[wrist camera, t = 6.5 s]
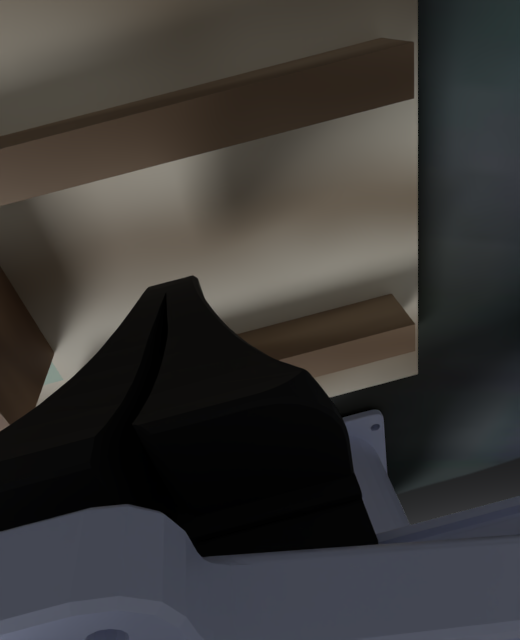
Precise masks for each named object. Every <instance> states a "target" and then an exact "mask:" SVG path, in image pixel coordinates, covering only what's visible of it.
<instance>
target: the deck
mask: <svg viewBox="0 0 520 640" xmlns="http://www.w3.org/2000/svg"><path fill="white" fill-rule="evenodd" d="M0 267H1V268H2V270H3V271H4V273H5V275H6V276H7V278H8V279H9V281H10V283H11V284H12V286H13V287H14V289H15V291H16V292H17V294H18V295H19V297H20V299H21V300H22V302H23V303H24V305H25V307H26V308H27V310H28V311H29V313H30V315H31V316H32V318H33V319H34V321H35V323H36V324H37V326H38V327H39V329H40V331H41V332H42V334H43V335H44V337H45V339H46V340H47V342H48V343H49V345H50V346H51V348H52V350H53V351H54V353H55V354H54V357H53V359H52V362H51V365H50V368H49V371H48V374H47V376H46V379H45V382H44V385H43V388H42V391H41V393H40V396H39V399H38V402H37V405H36V406H38V405H39V404H40V403H42V402H43V401H44V400H45V399H47V398H48V397H49V396H50V395H52V394H53V393H54V392H55V391H56V390H58V389H59V388H60V387H61V386H62V385H64V384H65V383H66V382H67V381H69V380H70V379H71V378H72V377H73V376H74V375H75V374H76V373H77V372H78V371H79V370H80V369H81V368H82V367H83V366H85V365H86V364H87V363H88V362H89V361H90V359H91V358H92V357H93V356H94V355H95V354H96V353H97V352H98V351H99V350H100V349H101V347H102V346H103V345H104V344H105V343H106V341H107V340H108V339H109V338H110V337H111V335H112V334H113V333H114V332H115V331H116V329H117V328H118V327H119V326H120V324H121V323H122V322H123V320H124V319H125V318H126V316H127V315H128V314H129V312H130V311H131V309H132V308H133V307H134V305H135V304H136V302H137V301H138V300H139V298H140V297H141V295H142V294H143V293H144V291H145V290H146V289H147V288H148V287H150V286H154V285H157V284H161V283H165V282H169V281H173V280H177V279H180V278H184V277H188V276H192V275H193V276H195V277H197V278H198V280H199V283H200V286H201V289H202V292H203V295H204V298H205V299H206V301H207V302H208V304H209V305H210V306H211V308H212V309H213V310H214V312H215V313H216V314H217V315H218V316H219V317H220V319H221V320H222V321H223V322H224V323H225V324H226V325H227V326H228V327H229V328H230V329H231V330H232V331H234V332H235V333H236V334H237V335H238V336H239V337H241V338H242V339H243V340H245V341H246V342H247V343H249V344H250V345H252V346H253V347H255V348H257V349H258V350H260V351H262V352H263V353H265V354H267V355H268V356H270V357H272V358H274V359H276V360H279V361H282V362H285V363H288V364H291V365H294V366H297V367H300V368H303V369H305V370H307V371H308V372H309V373H310V374H311V375H312V376H313V378H314V379H315V380H316V381H317V382H318V383H319V385H320V386H321V387H322V388H323V390H324V391H325V392H326V394H327V395H328V396H329V398H330V397H334V396H337V395H341V394H345V393H349V392H352V391H356V390H360V389H364V388H368V387H371V386H375V385H379V384H383V383H386V382H390V381H394V380H398V379H402V378H405V377H409V376H413V375H417V374H418V0H0Z"/></svg>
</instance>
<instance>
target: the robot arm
mask: <svg viewBox="0 0 520 640" xmlns="http://www.w3.org/2000/svg"><path fill="white" fill-rule="evenodd" d="M0 640H520V496H517V497H513V498H509V499H506V500H502V501H498V502H494V503H491V504H487V505H483V506H479V507H476V508H472V509H468V510H464V511H461V512H457V513H453V514H449V515H445V516H442V517H438V518H434V519H430V520H427V521H423V522H420V523H416V524H412V525H410V523H409V521H408V519H407V517H406V514H405V513H404V510H403V508H402V506H401V503H400V501H399V499H398V497H397V495H396V493H395V490H394V488H393V486H392V484H391V482H390V479H389V477H388V475H387V461H386V446H385V431H384V418H383V415H382V413H381V412H380V411H379V410H376V409H374V410H369V411H365V412H361V413H358V414H354V415H350V416H346V417H343V418H342V417H341V415H340V413H339V412H338V410H337V408H336V407H335V405H334V403H333V402H332V401H331V399H330V398H329V396H328V395H327V394H326V392H325V391H324V390H323V388H322V387H321V386H320V385H319V383H318V382H317V381H316V380H315V379H314V378H313V376H312V375H311V374H310V373H309V372H308V371H307V370H305V369H303V368H300V367H297V366H294V365H291V364H288V363H285V362H282V361H279V360H276V359H274V358H272V357H270V356H268V355H267V354H265V353H263V352H262V351H260V350H258V349H257V348H255V347H253V346H252V345H250V344H249V343H247V342H246V341H245V340H243V339H242V338H241V337H239V336H238V335H237V334H236V333H235V332H234V331H232V330H231V329H230V328H229V327H228V326H227V325H226V324H225V323H224V322H223V321H222V320H221V319H220V317H219V316H218V315H217V314H216V313H215V312H214V310H213V309H212V308H211V306H210V305H209V304H208V302H207V301H206V299H205V298H204V295H203V292H202V289H201V286H200V283H199V280H198V278H197V277H195V276H193V275H192V276H188V277H184V278H180V279H177V280H173V281H169V282H165V283H161V284H157V285H154V286H150V287H148V288H147V289H146V290H145V291H144V293H143V294H142V295H141V297H140V298H139V300H138V301H137V302H136V304H135V305H134V307H133V308H132V309H131V311H130V312H129V314H128V315H127V316H126V318H125V319H124V320H123V322H122V323H121V324H120V326H119V327H118V328H117V329H116V331H115V332H114V333H113V334H112V335H111V337H110V338H109V339H108V340H107V341H106V343H105V344H104V345H103V346H102V347H101V349H100V350H99V351H98V352H97V353H96V354H95V355H94V356H93V357H92V358H91V359H90V361H89V362H88V363H87V364H86V365H85V366H83V367H82V368H81V369H80V370H79V371H78V372H77V373H76V374H75V375H74V376H73V377H72V378H71V379H70V380H69V381H67V382H66V383H65V384H64V385H62V386H61V387H60V388H59V389H58V390H56V391H55V392H54V393H53V394H52V395H50V396H49V397H48V398H47V399H45V400H44V401H43V402H42V403H40V404H39V405H38V406H36V407H35V408H34V409H32V410H31V411H29V412H28V413H27V414H25V415H24V416H23V417H21V418H20V419H18V420H17V421H15V422H14V423H12V424H11V425H9V426H8V427H6V428H5V429H3V430H2V431H0Z"/></svg>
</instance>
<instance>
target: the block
mask: <svg viewBox="0 0 520 640" xmlns="http://www.w3.org/2000/svg"><path fill="white" fill-rule="evenodd" d="M54 354H55V353H54V351H53V350H52V348H51V346H50V345H49V343H48V342H47V340H46V339H45V337H44V335H43V334H42V332H41V331H40V329H39V327H38V326H37V324H36V323H35V321H34V319H33V318H32V316H31V315H30V313H29V311H28V310H27V308H26V307H25V305H24V303H23V302H22V300H21V299H20V297H19V295H18V294H17V292H16V291H15V289H14V287H13V286H12V284H11V283H10V281H9V279H8V278H7V276H6V275H5V273H4V271H3V270H2V268H1V267H0V431H2V430H3V429H5V428H6V427H8V426H9V425H11V424H12V423H14V422H15V421H17V420H18V419H20V418H21V417H23V416H24V415H25V414H27V413H28V412H29V411H31V410H32V409H34V408H35V407H36V405H37V402H38V399H39V396H40V393H41V391H42V388H43V385H44V382H45V379H46V376H47V374H48V371H49V368H50V365H51V362H52V359H53V357H54Z"/></svg>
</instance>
